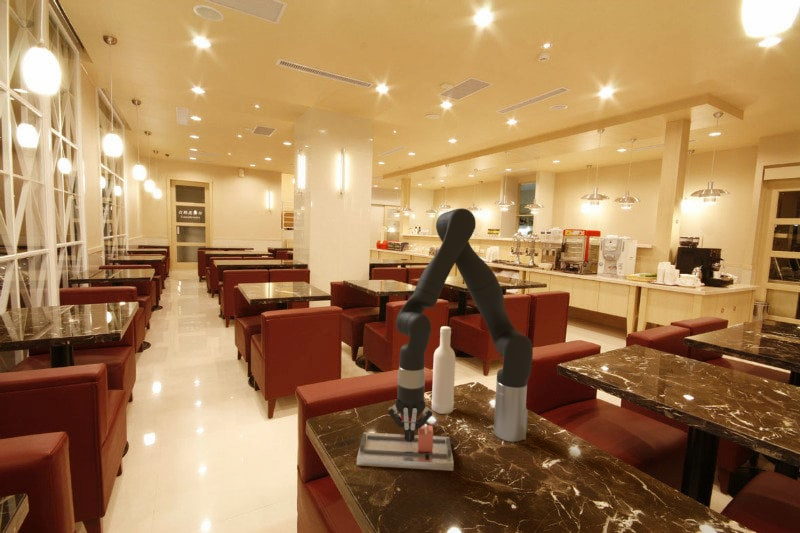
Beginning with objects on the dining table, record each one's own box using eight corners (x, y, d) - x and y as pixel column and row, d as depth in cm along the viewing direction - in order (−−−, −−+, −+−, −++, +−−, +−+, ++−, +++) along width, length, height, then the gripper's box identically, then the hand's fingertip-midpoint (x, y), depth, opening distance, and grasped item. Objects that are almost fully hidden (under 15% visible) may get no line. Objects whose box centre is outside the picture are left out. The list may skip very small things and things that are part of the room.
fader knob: (431, 442, 108) (432, 423, 108) (432, 452, 103) (433, 433, 103) (418, 441, 108) (418, 423, 108) (418, 451, 103) (418, 432, 103)
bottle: (458, 410, 133) (461, 328, 130) (441, 416, 128) (444, 331, 126) (443, 402, 139) (446, 323, 137) (426, 407, 135) (429, 326, 132)
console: (449, 443, 112) (449, 431, 112) (453, 470, 99) (453, 457, 99) (363, 438, 113) (363, 427, 113) (356, 465, 100) (356, 452, 100)
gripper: (434, 377, 108) (432, 434, 109) (388, 375, 108) (387, 432, 110) (435, 388, 100) (433, 449, 102) (386, 386, 101) (385, 446, 102)
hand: (409, 440), depth 106 cm, fingers closed
